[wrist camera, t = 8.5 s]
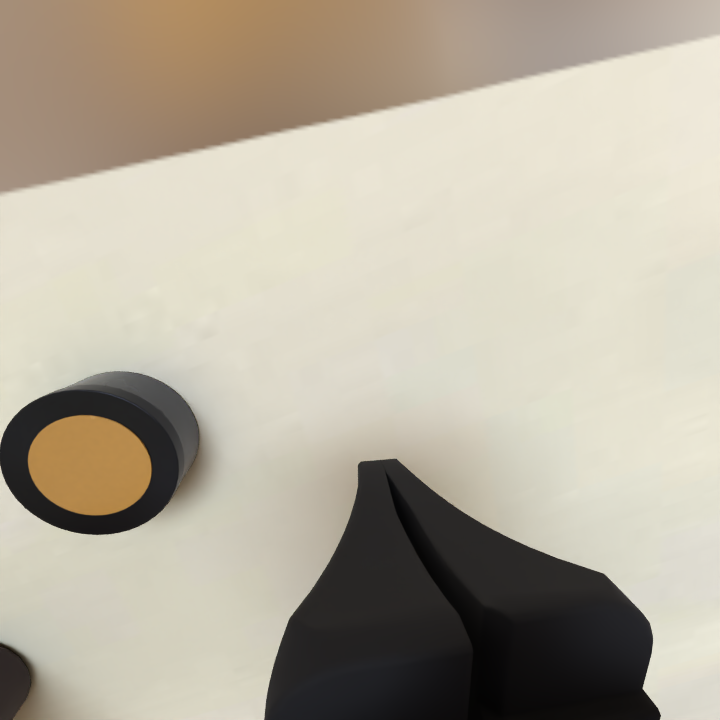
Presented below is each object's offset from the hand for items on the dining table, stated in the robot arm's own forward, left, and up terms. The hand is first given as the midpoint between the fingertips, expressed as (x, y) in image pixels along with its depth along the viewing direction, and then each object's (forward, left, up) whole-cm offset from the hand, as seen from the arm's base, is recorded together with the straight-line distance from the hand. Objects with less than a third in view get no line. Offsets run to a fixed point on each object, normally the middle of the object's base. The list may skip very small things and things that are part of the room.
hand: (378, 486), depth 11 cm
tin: (-2, +13, -9) cm, 15 cm away
